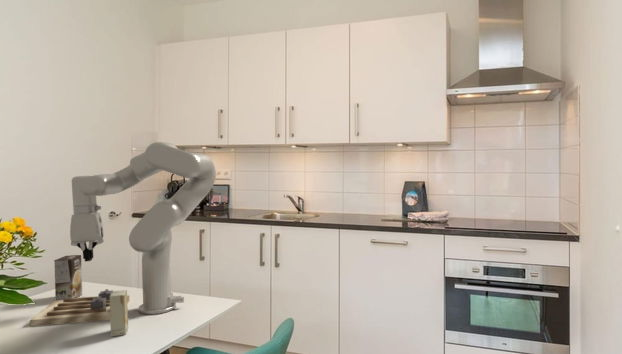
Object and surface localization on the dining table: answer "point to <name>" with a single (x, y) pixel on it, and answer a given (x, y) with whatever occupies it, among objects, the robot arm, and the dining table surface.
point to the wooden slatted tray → (71, 312)
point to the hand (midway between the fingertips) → (88, 260)
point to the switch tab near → (98, 303)
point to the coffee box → (68, 277)
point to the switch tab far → (105, 294)
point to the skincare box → (118, 313)
